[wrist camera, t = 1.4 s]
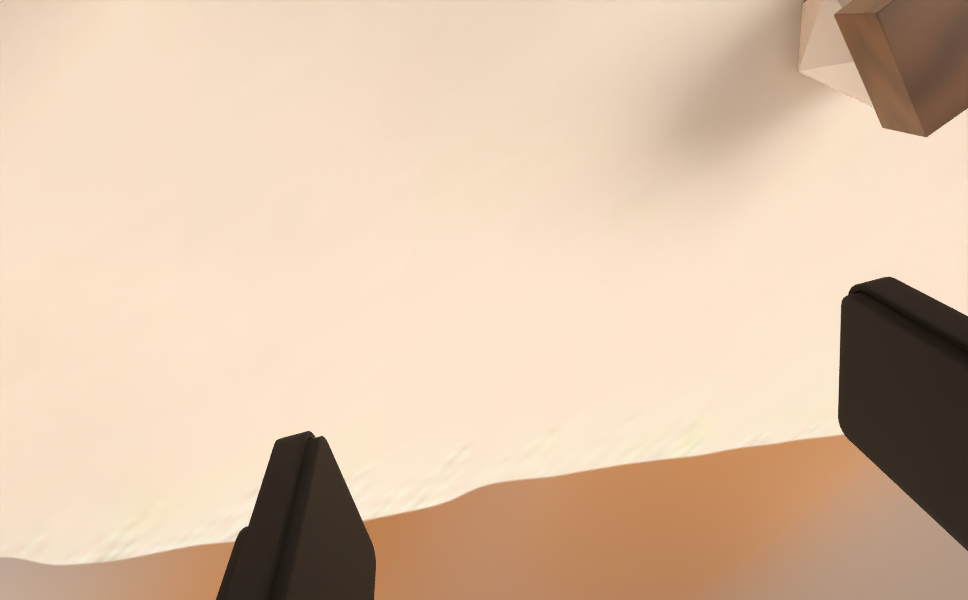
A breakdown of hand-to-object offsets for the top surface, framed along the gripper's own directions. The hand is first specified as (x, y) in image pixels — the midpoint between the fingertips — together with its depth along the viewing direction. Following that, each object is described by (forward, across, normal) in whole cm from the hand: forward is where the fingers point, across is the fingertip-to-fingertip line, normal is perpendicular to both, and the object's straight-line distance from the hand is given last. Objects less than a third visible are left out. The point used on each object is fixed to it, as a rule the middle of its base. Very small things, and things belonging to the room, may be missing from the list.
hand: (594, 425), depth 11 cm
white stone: (+35, -28, 0) cm, 44 cm away
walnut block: (+26, -27, 0) cm, 38 cm away
